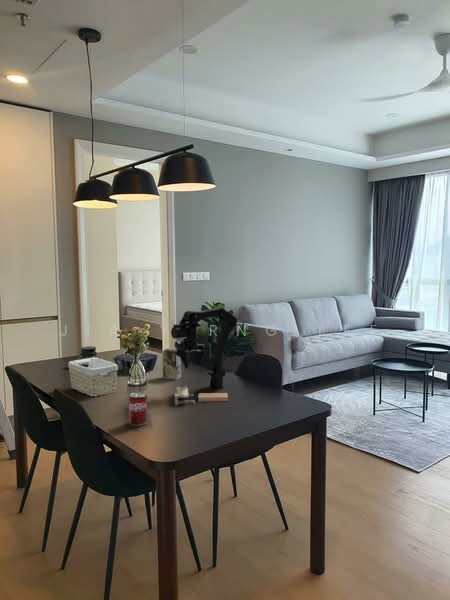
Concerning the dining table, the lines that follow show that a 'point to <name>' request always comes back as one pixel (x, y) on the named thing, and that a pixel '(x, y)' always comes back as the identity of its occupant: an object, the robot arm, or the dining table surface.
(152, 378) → the dining table surface
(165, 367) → the coffee box
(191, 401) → the grey-green flat pronged block
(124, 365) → the decorative bowl
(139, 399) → the soda can
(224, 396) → the terracotta tile
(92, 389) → the storage basket
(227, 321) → the robot arm
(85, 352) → the supplement container
